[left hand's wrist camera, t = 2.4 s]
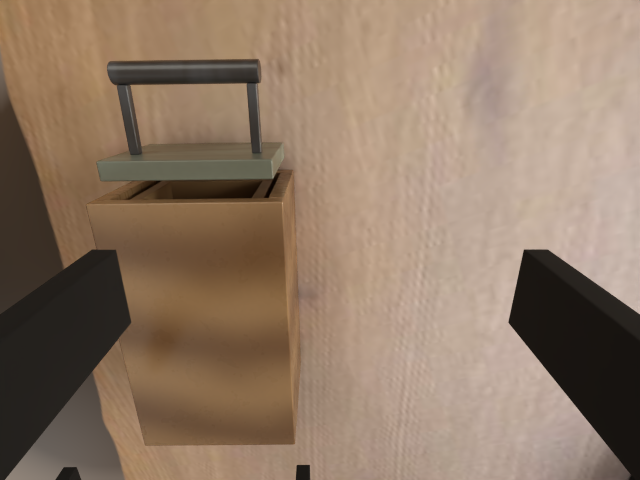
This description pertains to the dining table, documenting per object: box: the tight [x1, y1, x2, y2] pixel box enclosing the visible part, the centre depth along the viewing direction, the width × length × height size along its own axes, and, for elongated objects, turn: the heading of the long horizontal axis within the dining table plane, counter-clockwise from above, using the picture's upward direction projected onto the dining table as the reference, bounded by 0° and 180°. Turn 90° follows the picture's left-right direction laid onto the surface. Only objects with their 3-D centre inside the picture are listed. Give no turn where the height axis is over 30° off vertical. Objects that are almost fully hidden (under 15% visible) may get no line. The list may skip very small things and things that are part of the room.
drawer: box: [97, 59, 284, 200], centre depth 28 cm, size 23×10×8 cm, turn 1°
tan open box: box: [86, 170, 301, 446], centre depth 30 cm, size 19×12×10 cm, turn 1°
